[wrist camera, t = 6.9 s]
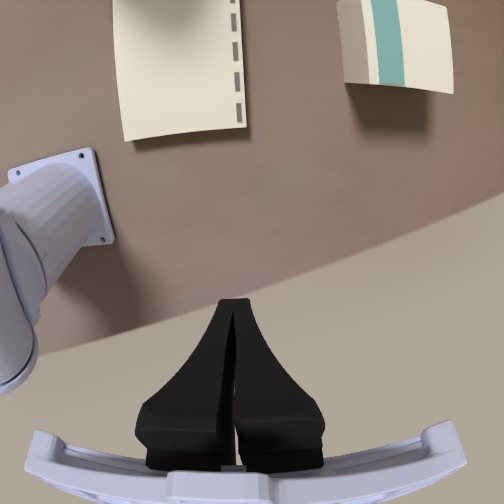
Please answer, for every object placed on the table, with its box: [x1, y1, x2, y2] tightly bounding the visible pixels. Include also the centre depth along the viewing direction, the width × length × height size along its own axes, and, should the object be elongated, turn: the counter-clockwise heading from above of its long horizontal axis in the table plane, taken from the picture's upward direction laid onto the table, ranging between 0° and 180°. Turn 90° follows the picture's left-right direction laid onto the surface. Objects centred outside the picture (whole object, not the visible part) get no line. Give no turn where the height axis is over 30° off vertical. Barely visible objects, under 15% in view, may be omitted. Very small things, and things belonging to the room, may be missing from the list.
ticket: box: [113, 0, 246, 142], centre depth 15 cm, size 8×12×1 cm, turn 3°
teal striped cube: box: [336, 0, 453, 94], centre depth 13 cm, size 6×6×5 cm
